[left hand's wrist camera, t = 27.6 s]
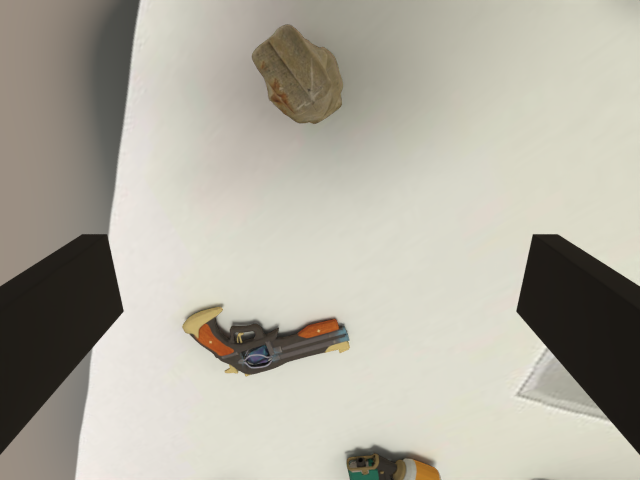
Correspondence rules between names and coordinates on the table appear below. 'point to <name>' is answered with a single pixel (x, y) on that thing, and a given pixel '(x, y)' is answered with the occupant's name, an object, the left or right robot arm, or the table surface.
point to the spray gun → (389, 469)
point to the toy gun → (263, 342)
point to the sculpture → (299, 76)
